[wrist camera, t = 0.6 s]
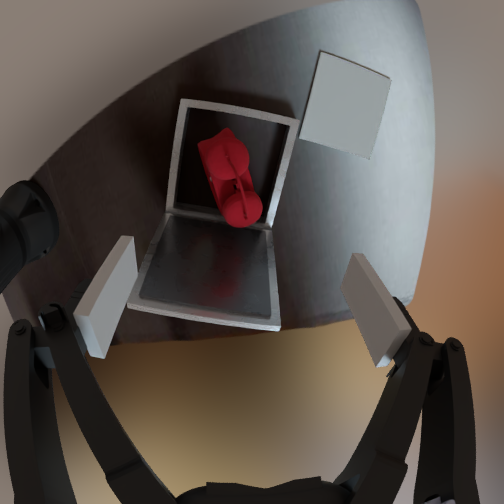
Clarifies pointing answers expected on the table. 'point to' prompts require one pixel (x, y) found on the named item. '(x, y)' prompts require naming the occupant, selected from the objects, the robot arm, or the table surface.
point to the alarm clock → (230, 178)
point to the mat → (345, 106)
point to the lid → (209, 274)
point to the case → (177, 155)
